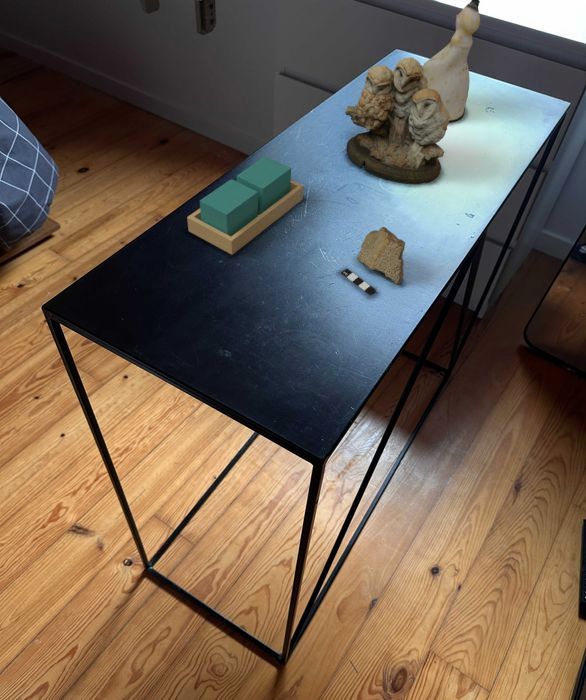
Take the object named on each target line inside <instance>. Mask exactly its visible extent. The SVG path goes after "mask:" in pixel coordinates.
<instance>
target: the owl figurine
mask: <svg viewBox="0 0 586 700" xmlns="http://www.w3.org/2000/svg"><path fill="white" fill-rule="evenodd" d="M364 83H365V84H364V86H363V89H362V90H361V91H360V97H359V98H358V99H357V102H356V104H355V105H347V106H346V108H345V112H344V114H345V115H346V116H349V117H350V120H351V122H352V123H353V125H355V126H358V127H361V128H363V129H366V130H367V131H364V132H360V133H357V134H355V135H354V136H352V137H351V138H349V139H348V140H347V143H346V146H345V147H346V155H347V156H348V159H349V160H350V161H351V162H352V163H353V164H354V165H357V167H358V168H360V169H362V168H363V169H364V171H365V172H366V173H367V174H371V175H373V176H375V177H378V178H381V179H384V180H387V181H390V182H391V181H392V182H396V183H400V184H408V185H409V184H410V185H411V184H415V185H416V184H417V185H418V184H422V183H423V182H425V183H429V182H430V183H431V182H432V181H434V180H435V179H437V178H438V177H439V175H440V174H441V170H442V164H441V162H440V159H439V158H443V157H444V155H445V151H444V149H443V148H442V147H441V146H440V145H439V144H438V143H439V142H440V141H441V140H443V138H444V137H445V136H446V132H447V131H448V125H449V124H450V123H449V121H448V119H449V118H450V114H449V112H448V110H447V109H446V108H444V104H443V102H442V100H441V97H440V94H439V93H438V92H437V91H436V90H433V89H429V88H428V85H427V83H428V81H427V78H426V77H425V76H424V70H423V65H422V64H421V62H420V61H418V60H417V59H416V58H414V57H412V56H411V57H404V58H402V59H400V60H399V61H398V62H397V63H396V65H395V67H394V69H393V70H392V69H391V68H389V67H388V66H387V65H384V64H380V65H379V64H377V65H374V66H371V67H370V68H369V70H368V72H367V74H366V76H365V80H364ZM364 164H365V166H364Z"/></svg>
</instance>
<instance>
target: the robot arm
mask: <svg viewBox="0 0 586 700" xmlns="http://www.w3.org/2000/svg"><path fill="white" fill-rule="evenodd" d="M139 3H140V5H141V10H142V11H143V12H144V13H145V14H148V15H149V14H152V13H155V12H157V11H159V10H160V7H161V3H160V0H139ZM194 11H195V25H196V26H195V28H196V33H197V34H199V35H202V36H205V35H208V34H209V33H212V32H213V31H214V29H215V28H216V26H217V10H216V0H194Z"/></svg>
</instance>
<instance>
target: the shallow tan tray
mask: <svg viewBox="0 0 586 700" xmlns="http://www.w3.org/2000/svg"><path fill="white" fill-rule="evenodd" d="M304 187H305V186H304V184H301V183H299V182H297V181H295V180H292V179H291V182H290V192H289V193H288V194H287V195H285V196H284V197H283V198H281V199H280V200H279V201H277V202H276V203H275V204H273V205H272V206H271V207H270V208H268V209H267V210H266V211H264V212H263V213H262V214H260V215H259V214H258V217H256V218H255V219H254V220H252V221H251V222H250V223H249V224H247V225H246V226H245V227H243V228H242V229H241V230H239V231H238V232H237V233H235V234H234V235H233V236H232V237H231V236H229V235H227V234H225V233H223V232H221V231H219V230H218V229H216V228H214V227H212V226H210V225H208V224H206V223H205V222H203V221H201V211H200V208H198V209H197V210H195V211H194V212H193V213H191V214H189V215H188V216H187V217H186V218H187V228H188V229H187V230H188V232H189V233H191V234H193V235H194V236H196V237H199V239H202V240H204V241H205V242H207V243H209V244H211V245H213V246H215V247H217V248H218V249H220V250H222V251H223V252H226V253H228V254H230V255H231V256H232V255H234V254H235V253H237V252H238V251H239V250H241V249H242V248H243V247H244V246H246V245H247V244H248V243H250V242H251V241H252V240H253V239H255V238H256V237H257V236H258V235H259V234H261V233H262V232H264V231H265V230H266V229H267V228H268V227H270V225H273V224H274V223H275V222H276V221H277V220H279V219H280V218H282V217H283V216H284V215H285V214H286V213H287V212H290V210H291V209H293V208H294V207H295V206H297V205H298V204H299V203H301V201H303V199H304Z"/></svg>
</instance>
